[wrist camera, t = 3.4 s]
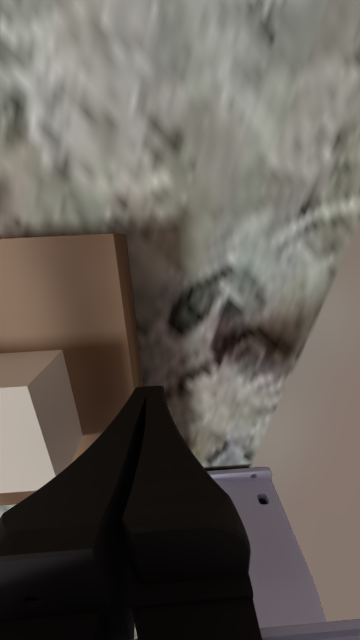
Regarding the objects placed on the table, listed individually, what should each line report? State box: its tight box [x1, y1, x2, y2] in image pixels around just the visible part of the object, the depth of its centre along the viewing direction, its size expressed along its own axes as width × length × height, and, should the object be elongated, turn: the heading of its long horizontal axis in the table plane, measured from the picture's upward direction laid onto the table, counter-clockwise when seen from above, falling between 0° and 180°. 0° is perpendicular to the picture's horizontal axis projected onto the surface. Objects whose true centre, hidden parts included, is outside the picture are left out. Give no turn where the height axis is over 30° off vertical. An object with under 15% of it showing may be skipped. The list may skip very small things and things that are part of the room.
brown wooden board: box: [0, 234, 143, 505], centre depth 14 cm, size 16×16×3 cm
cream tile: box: [0, 350, 83, 493], centre depth 11 cm, size 6×6×3 cm
